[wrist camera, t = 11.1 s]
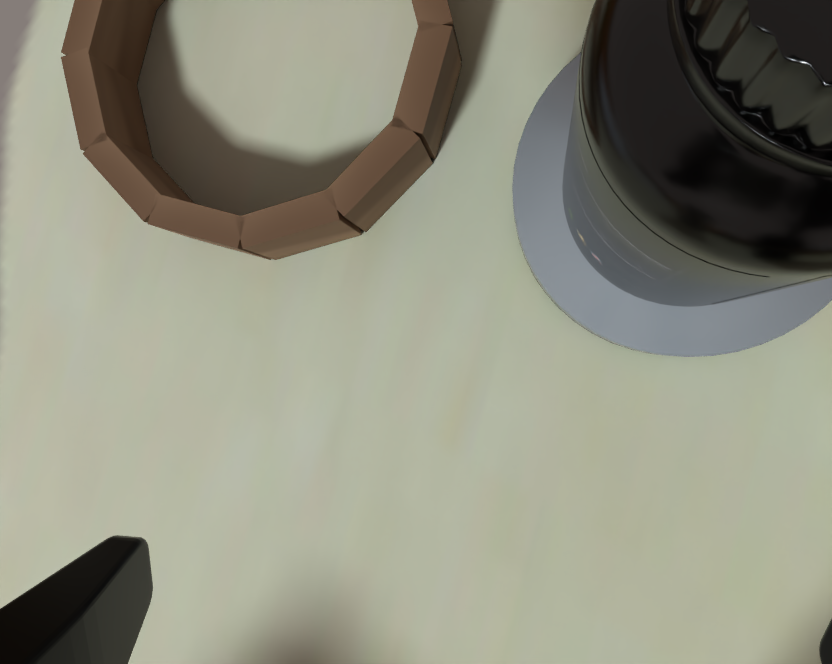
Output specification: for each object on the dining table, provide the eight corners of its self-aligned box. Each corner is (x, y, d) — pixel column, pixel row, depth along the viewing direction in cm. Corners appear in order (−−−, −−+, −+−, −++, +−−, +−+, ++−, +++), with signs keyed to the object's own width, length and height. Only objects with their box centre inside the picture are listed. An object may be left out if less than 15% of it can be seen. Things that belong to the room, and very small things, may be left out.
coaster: (898, 69, 18) (932, 44, 16) (801, 396, 18) (825, 400, 17) (561, 9, 20) (564, -19, 18) (477, 307, 20) (473, 304, 18)
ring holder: (500, -74, 20) (496, -132, 18) (397, 294, 20) (379, 287, 18) (167, -125, 22) (123, -184, 20) (79, 207, 23) (25, 189, 20)
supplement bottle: (726, 25, 17) (1158, -666, 5) (861, 229, 17) (1697, -63, 5) (514, 155, 18) (493, -193, 6) (633, 353, 18) (856, 368, 6)
